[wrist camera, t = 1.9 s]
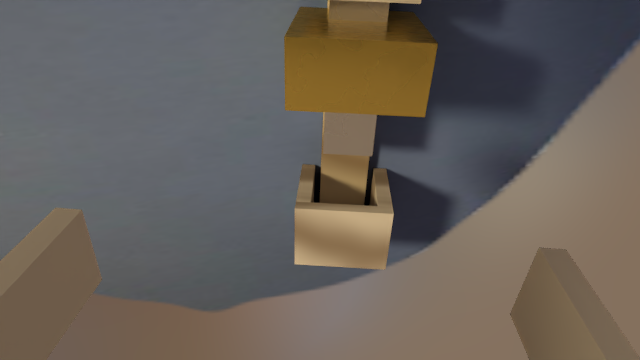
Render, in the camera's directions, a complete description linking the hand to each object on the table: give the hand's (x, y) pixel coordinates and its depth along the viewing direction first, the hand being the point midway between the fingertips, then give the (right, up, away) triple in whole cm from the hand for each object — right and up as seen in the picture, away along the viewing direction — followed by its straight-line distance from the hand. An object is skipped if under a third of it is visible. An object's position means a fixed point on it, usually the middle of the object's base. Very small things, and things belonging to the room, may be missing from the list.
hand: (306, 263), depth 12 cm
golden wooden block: (+3, +14, +13) cm, 19 cm away
